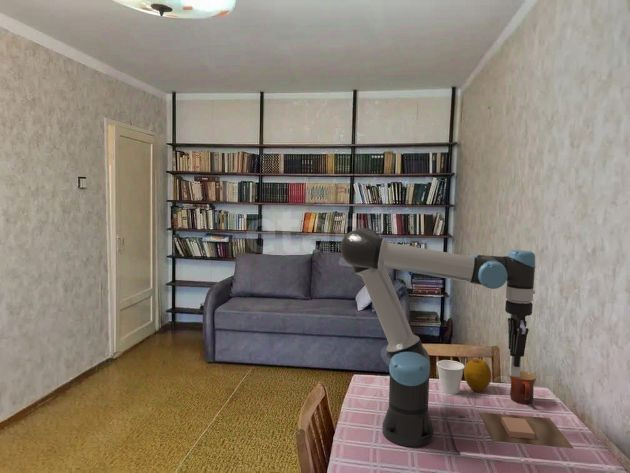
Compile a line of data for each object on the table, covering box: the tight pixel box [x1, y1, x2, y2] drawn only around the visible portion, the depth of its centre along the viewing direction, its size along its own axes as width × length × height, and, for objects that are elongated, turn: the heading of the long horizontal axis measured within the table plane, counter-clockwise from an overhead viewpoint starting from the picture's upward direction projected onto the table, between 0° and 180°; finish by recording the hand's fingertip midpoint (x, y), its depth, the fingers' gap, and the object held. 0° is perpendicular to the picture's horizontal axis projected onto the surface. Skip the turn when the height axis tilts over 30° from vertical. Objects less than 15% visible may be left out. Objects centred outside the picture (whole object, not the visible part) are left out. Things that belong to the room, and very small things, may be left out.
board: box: [478, 411, 574, 449], centre depth 134 cm, size 22×18×1 cm
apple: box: [463, 358, 492, 392], centre depth 166 cm, size 10×10×12 cm
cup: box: [436, 359, 466, 395], centre depth 161 cm, size 10×10×11 cm
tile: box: [501, 417, 535, 439], centre depth 133 cm, size 7×2×9 cm
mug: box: [509, 370, 538, 405], centre depth 153 cm, size 12×9×10 cm
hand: (514, 375), depth 136 cm, fingers closed
